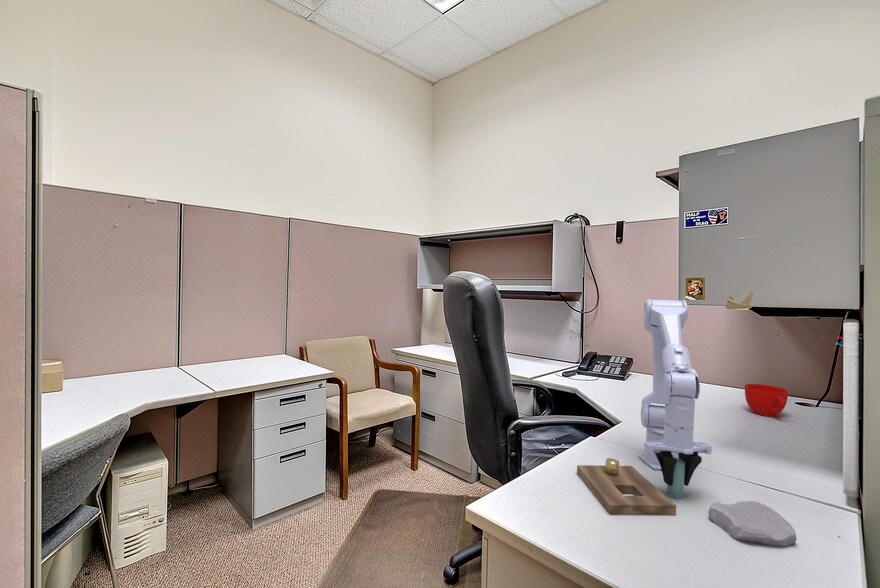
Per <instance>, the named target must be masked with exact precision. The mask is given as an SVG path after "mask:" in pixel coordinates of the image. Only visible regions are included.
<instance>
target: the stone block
mask: <svg viewBox="0 0 880 588" xmlns="http://www.w3.org/2000/svg"><path fill="white" fill-rule="evenodd" d="M708 517H709V519H710V521H712V522H713V523H714V524H715V525H717V526H718V527H720V528H721V529H723V531H725V532H726V533H727V534H728V535H729V536H730V537H731V538H733V539H734V540H737V541H745V542H749V543H757V544H758V543H759V544H763V545H768V546H769V545H770V546H776V547H777V546H779V547H783V548H784V547H788V546H791V545H794V544H795V543H797V542H796V541H797V534H796V530H795V529H794V528H795V527H793V526H792V524H791V523H789V522H788V521H787V520H786V519H785V518H784V517H783V516H782V514H780V513H779V512H778V511H777V512H776V510H774V509H773V507H770V506H768V505H766V504H765V503H761V502H759V501H756V500H755V501H754V500H745V501H744V500H743V501H737V502H735V503H732V504H728V503H721V502H719V501H714V502H713V503H711V504H710V505H709V509H708Z"/></svg>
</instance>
